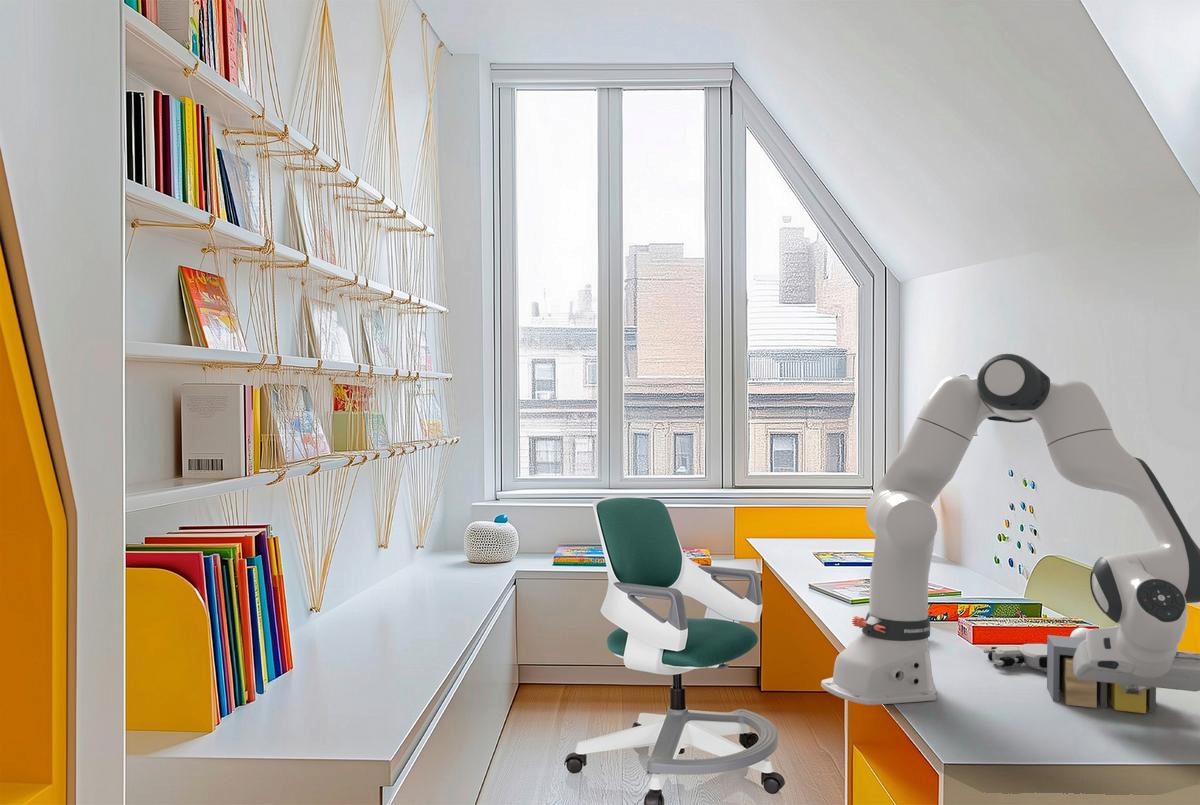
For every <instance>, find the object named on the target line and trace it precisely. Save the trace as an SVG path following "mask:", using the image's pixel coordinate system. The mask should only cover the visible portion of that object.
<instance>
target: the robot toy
mask: <svg viewBox="0 0 1200 805" xmlns="http://www.w3.org/2000/svg"><path fill="white" fill-rule="evenodd" d="M983 653H984V654H987V658H988V661H990V662H991V663H992V664H995V665H997V666H1001V667H1002V668H1003V669H1004V668H1005V669H1013V668H1016V667H1022V665H1026V666H1028V667H1030V668H1033V669H1038V670H1039V671H1040V672H1043V673H1047V643H1024V644H1021V646H1019V647H1017V646H1014V645H1013V646H1010V645H999V646H998V647H997V646H991V648H984V649H983Z"/></svg>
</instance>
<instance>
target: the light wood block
mask: <svg viewBox="0 0 1200 805" xmlns="http://www.w3.org/2000/svg"><path fill="white" fill-rule="evenodd" d="M1073 657H1074V656H1070V655H1061V674H1060V691H1059V693H1060V695H1061V696H1062V698H1063V700H1064V703H1065V705H1067V706H1078V707H1087V708H1095V709H1097V706H1098V702H1097V681H1088V680H1079V679H1078V678H1076V677H1075V675H1074V670H1073Z"/></svg>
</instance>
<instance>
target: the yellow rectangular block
mask: <svg viewBox="0 0 1200 805" xmlns="http://www.w3.org/2000/svg"><path fill="white" fill-rule="evenodd" d="M1107 700H1108V701H1109V703H1110V704H1111V706H1112V708H1113V709H1114V710H1115V711H1122V712H1131V713H1139V714H1141V713H1142V714H1146V713H1147V708H1146V690H1145V691H1142V694H1141V695H1136V694H1126V693H1123V691H1122V687H1121V686H1120V685H1119V684H1117V683H1107Z"/></svg>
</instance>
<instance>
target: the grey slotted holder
mask: <svg viewBox="0 0 1200 805" xmlns="http://www.w3.org/2000/svg"><path fill="white" fill-rule="evenodd" d="M1085 640H1086V638H1075V637H1070V636H1063V635H1052V634H1047V643H1046V644H1047V672H1046V689H1047V691H1048V693H1050V694H1049V696H1050V698H1051V700H1052V702H1054V701H1055V702H1056V703H1059V702H1060V691H1059V690H1060V674H1061V655H1070V656H1074V654H1075V652H1076V650H1077V648H1078V646H1079V644H1080V643H1081V642H1083V641H1085ZM1107 700H1108V698H1107V682H1097V704H1098V705H1099V706H1100V707H1101V708H1107ZM1055 702H1054V703H1055ZM1146 710H1148V712H1149V713H1154V714H1155V713H1156V712H1157V711H1156V710H1157V688H1156V687H1151V688H1150V689H1147V690H1146Z"/></svg>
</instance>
